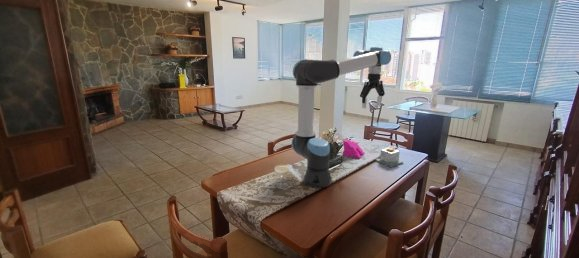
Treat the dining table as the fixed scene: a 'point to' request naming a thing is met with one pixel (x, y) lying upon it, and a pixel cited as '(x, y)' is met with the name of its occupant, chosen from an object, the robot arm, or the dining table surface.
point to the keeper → (388, 163)
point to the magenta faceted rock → (352, 149)
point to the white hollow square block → (389, 156)
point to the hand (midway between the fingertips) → (371, 107)
